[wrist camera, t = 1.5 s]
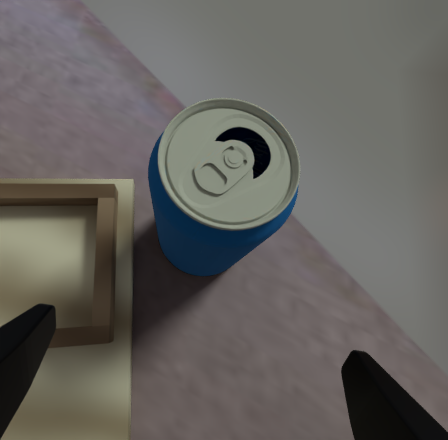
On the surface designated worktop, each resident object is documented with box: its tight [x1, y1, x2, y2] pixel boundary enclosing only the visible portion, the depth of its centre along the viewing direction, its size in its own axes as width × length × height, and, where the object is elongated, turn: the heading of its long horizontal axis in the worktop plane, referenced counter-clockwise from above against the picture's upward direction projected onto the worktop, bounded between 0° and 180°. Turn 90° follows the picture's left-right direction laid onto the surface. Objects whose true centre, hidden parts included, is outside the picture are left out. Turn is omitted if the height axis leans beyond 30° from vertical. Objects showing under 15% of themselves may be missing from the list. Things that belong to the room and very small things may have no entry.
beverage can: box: [148, 98, 300, 276], centre depth 18 cm, size 6×6×12 cm
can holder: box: [0, 179, 135, 440], centre depth 19 cm, size 18×12×2 cm, turn 4°
